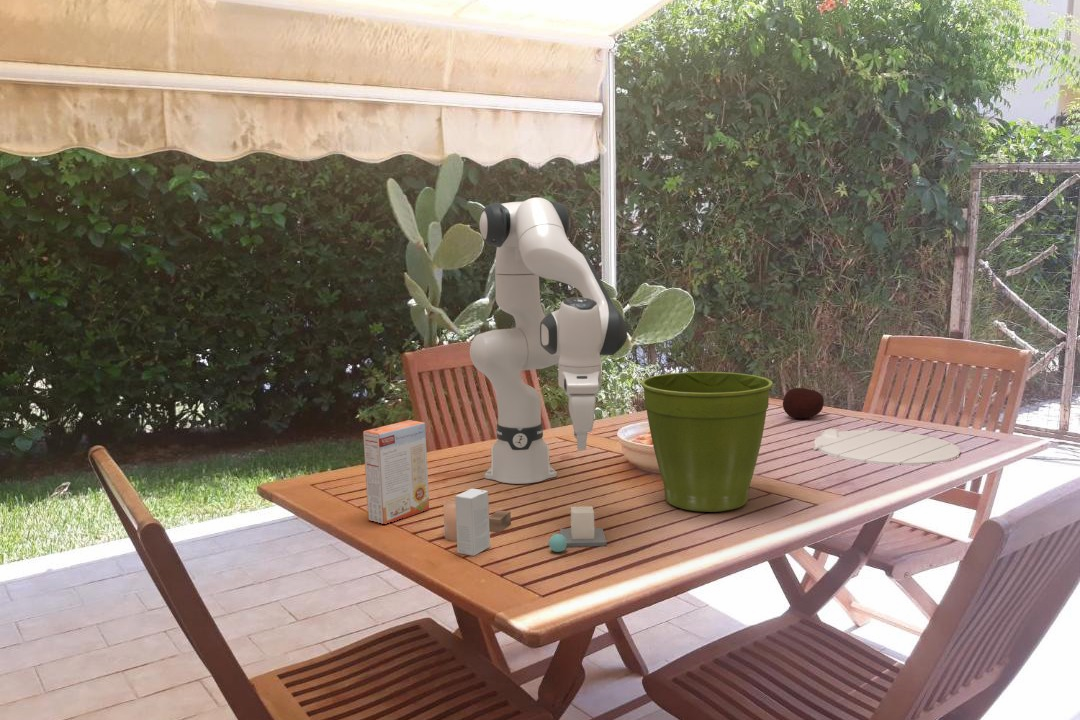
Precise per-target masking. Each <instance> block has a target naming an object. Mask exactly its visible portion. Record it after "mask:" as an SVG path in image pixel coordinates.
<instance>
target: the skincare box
mask: <svg viewBox="0 0 1080 720" xmlns="http://www.w3.org/2000/svg"><path fill="white" fill-rule="evenodd" d="M454 500H455V505H456V529H457V542H456V549H457V554H461V555H462V554H463V555H467V556H470V557H472V556H473V557H475V556H476V555H478V554H480V553H481V552H483V551H485V550H487V549H489V548H490V547H491V534H490V533H491V531H490V528H489V517H490V511H489V510H490V506H489V490H484V489H477V488H469V489H467V490H465V491H463V492H461V493H459V494H457V495H455V496H454Z"/></svg>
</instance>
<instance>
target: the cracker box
mask: <svg viewBox="0 0 1080 720" xmlns="http://www.w3.org/2000/svg"><path fill="white" fill-rule="evenodd" d="M426 431H427V430H426V423H425V422H423V421H417V420H412V419H408V420H407V419H406V420H404V421H399V422H397V423H391V424H387V425H383V426H379V427H376V428H375V427H374V428H371V429H367V430H364V431H363V432H362V437H363V451H364V453H363V455H364V467H365V469H364V472H365V486H366V501H367V502H366V503H367V504H366V505H367V517H368V519H369V520H372V521H375V522H378V523H377V524H379V523H381V524H380V525H382V524H387V523H389V524H391V523H390V522H392V523H395V522H398V521H400V520H399V519H401V520H403V519H406V518H408V517H409V518H410V517H412V516H414V515H418V514H420V513H423V511H424V512H427V511H428V510H430V499H429V496H430V495H429V478H428V475H429V474H428V459H427V458H428V456H427V453H428V451H427V435H426ZM402 518H403V519H402ZM368 519H367V520H368ZM369 520H368V521H369ZM397 520H398V521H397ZM394 521H395V522H394ZM375 522H374V523H375ZM387 525H388V524H387Z"/></svg>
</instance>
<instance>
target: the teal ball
mask: <svg viewBox="0 0 1080 720" xmlns="http://www.w3.org/2000/svg"><path fill="white" fill-rule="evenodd" d="M548 546H549V548H550V550H552V552H555V553H561V552H563V551H564V550H565V549H566V548H567V547H566V546H567V540H566V538H565V537H564V536H563V535H561V534H560V533H554V534H552V536H551V537H550V538H549V540H548Z"/></svg>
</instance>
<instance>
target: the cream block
mask: <svg viewBox="0 0 1080 720" xmlns="http://www.w3.org/2000/svg"><path fill="white" fill-rule="evenodd" d="M594 528H595V511H594V507H593V506H591V505H590V506H589V505H588V506H586V505H585V506H584V505H583V506H570V529H571V534H572V539H594Z"/></svg>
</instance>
